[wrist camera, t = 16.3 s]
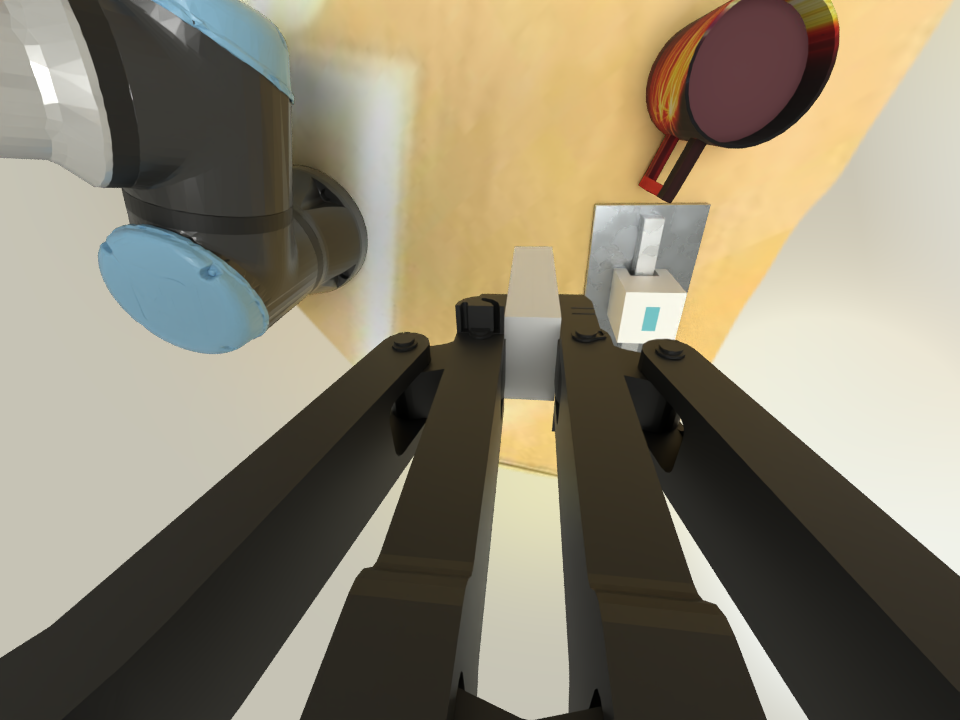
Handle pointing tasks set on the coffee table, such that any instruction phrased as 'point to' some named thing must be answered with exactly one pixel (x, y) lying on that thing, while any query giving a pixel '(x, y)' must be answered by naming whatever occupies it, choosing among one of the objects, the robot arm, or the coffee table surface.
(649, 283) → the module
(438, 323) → the coffee table surface
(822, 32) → the mug
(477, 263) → the coffee table surface
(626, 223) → the rail plate
